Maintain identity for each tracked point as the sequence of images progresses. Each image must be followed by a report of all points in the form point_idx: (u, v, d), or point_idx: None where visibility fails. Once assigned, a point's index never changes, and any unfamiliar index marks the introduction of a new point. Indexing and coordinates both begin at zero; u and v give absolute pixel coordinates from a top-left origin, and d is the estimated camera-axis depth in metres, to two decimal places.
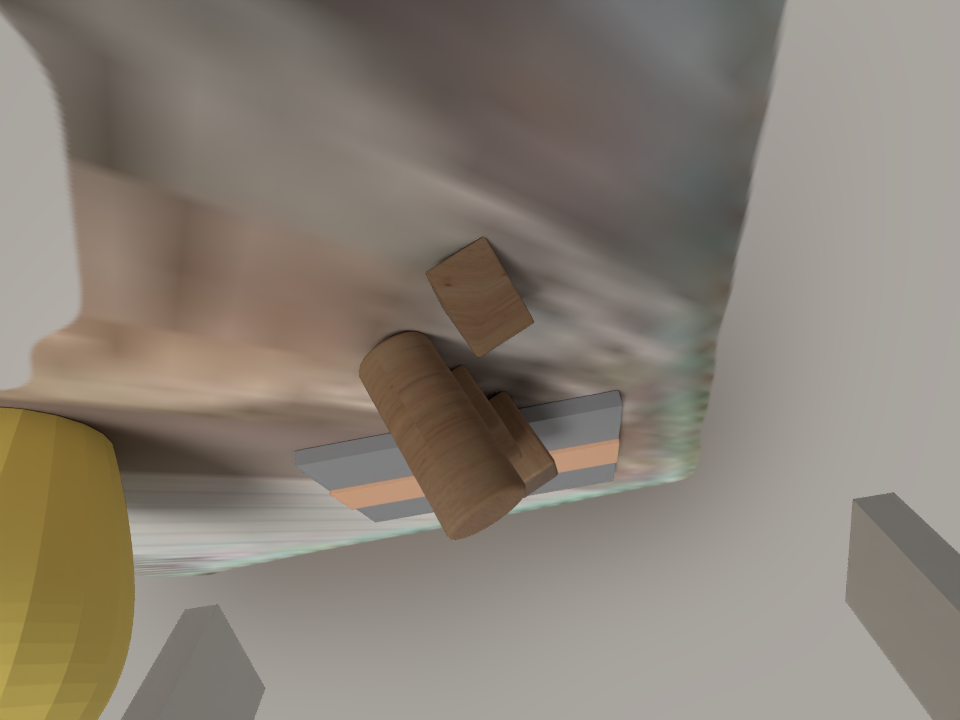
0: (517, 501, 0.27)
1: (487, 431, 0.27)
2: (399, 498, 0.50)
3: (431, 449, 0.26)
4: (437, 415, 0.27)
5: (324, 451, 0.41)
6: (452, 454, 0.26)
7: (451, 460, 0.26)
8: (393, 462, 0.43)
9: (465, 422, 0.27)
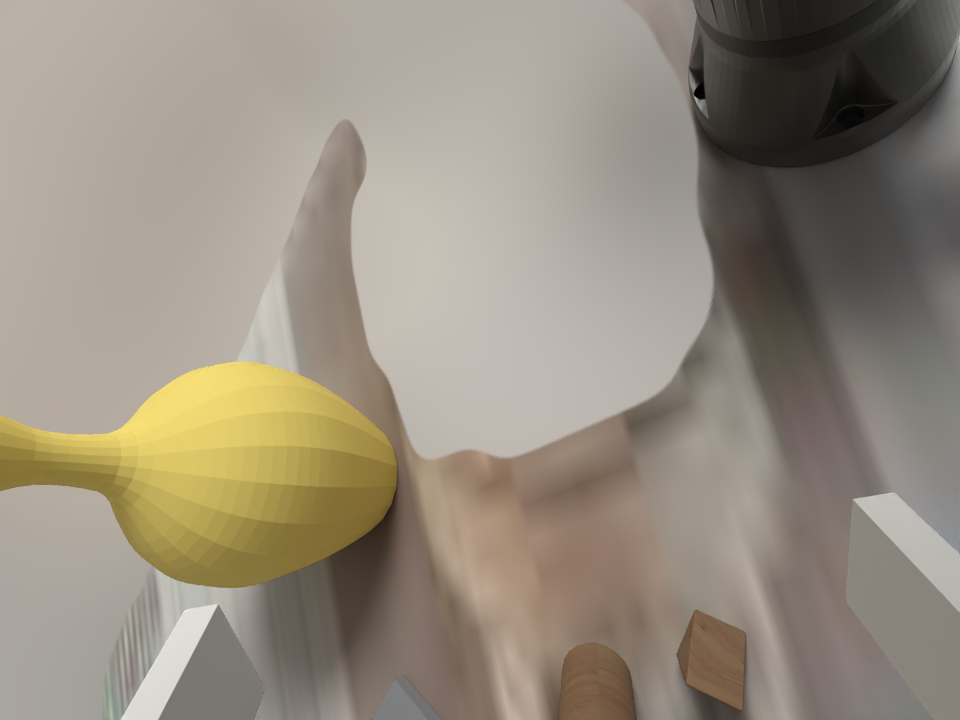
0: None
1: None
2: None
3: (600, 699, 0.30)
4: (618, 695, 0.31)
5: (419, 699, 0.42)
6: (615, 714, 0.29)
7: (611, 715, 0.28)
8: None
9: None
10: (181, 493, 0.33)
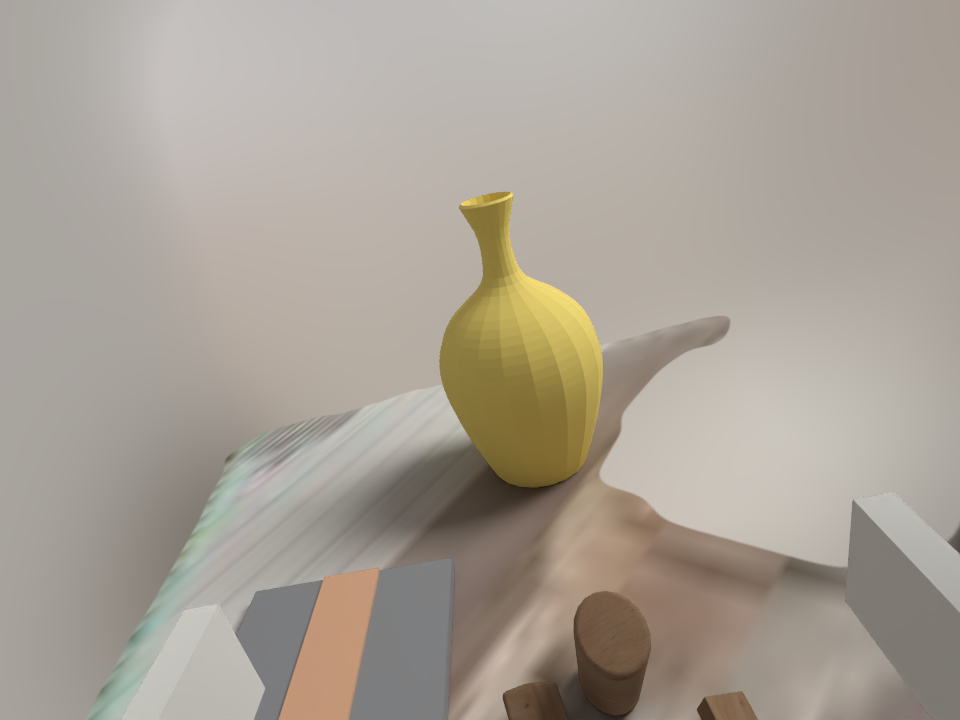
0: (611, 664, 0.28)
1: (638, 683, 0.30)
2: (319, 619, 0.45)
3: None
4: None
5: (452, 584, 0.47)
6: None
7: None
8: (413, 627, 0.43)
9: None
10: (516, 312, 0.50)
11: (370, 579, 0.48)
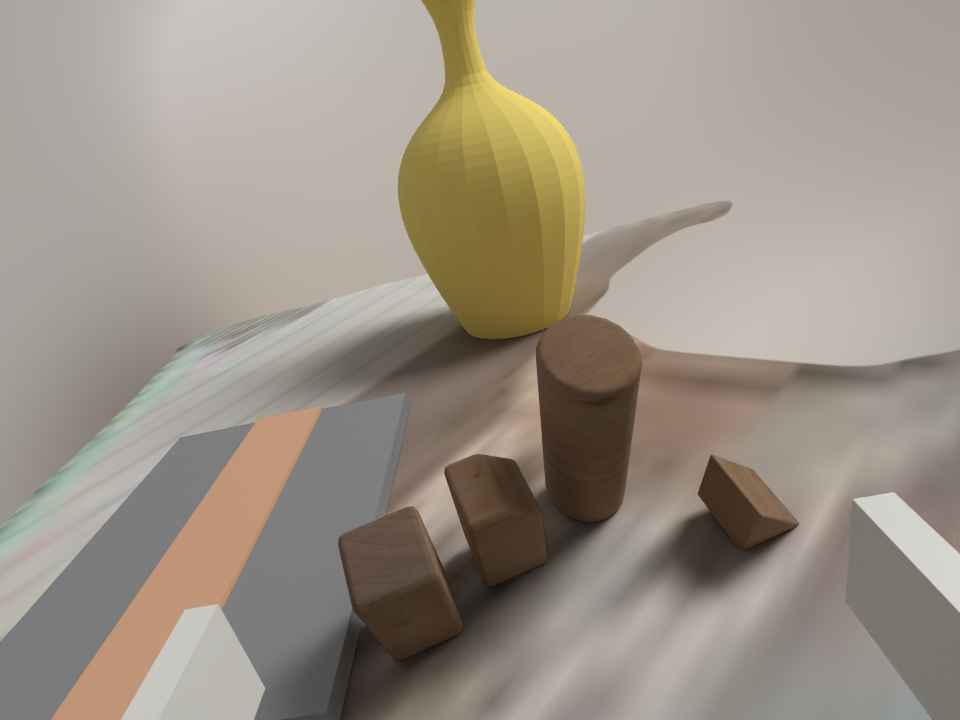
0: (589, 382, 0.20)
1: (625, 433, 0.22)
2: (245, 451, 0.38)
3: None
4: None
5: (404, 416, 0.40)
6: None
7: None
8: (352, 449, 0.36)
9: (633, 423, 0.24)
10: (482, 108, 0.43)
11: (310, 415, 0.41)
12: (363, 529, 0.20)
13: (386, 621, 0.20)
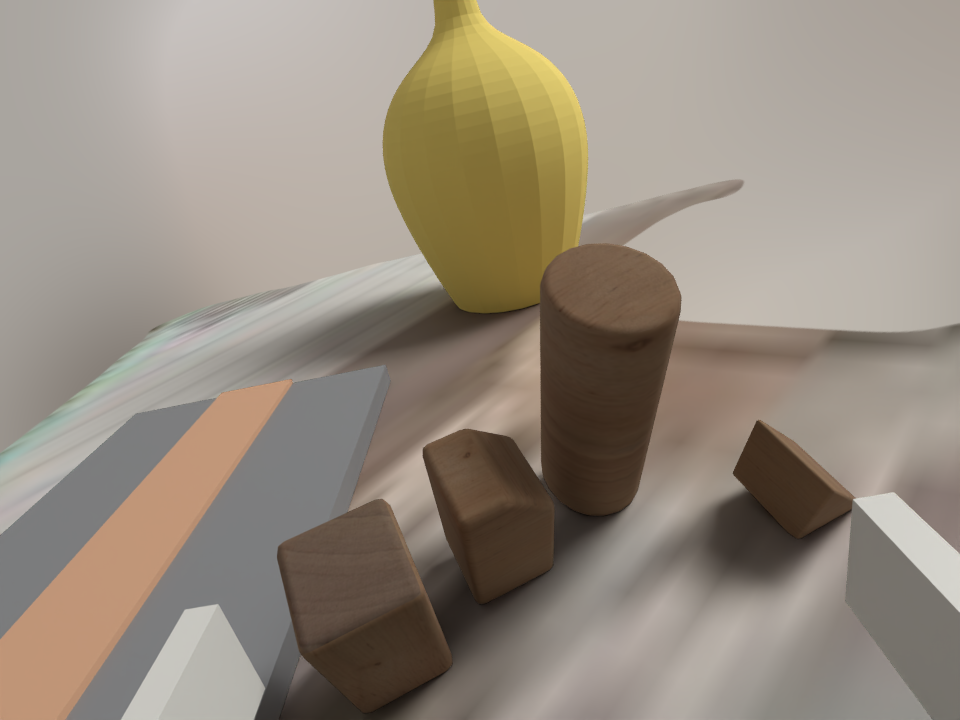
0: (618, 320, 0.15)
1: (656, 394, 0.17)
2: (201, 426, 0.34)
3: None
4: None
5: (383, 390, 0.36)
6: None
7: None
8: (320, 423, 0.32)
9: None
10: (474, 51, 0.38)
11: (278, 388, 0.37)
12: (313, 533, 0.14)
13: (349, 663, 0.14)
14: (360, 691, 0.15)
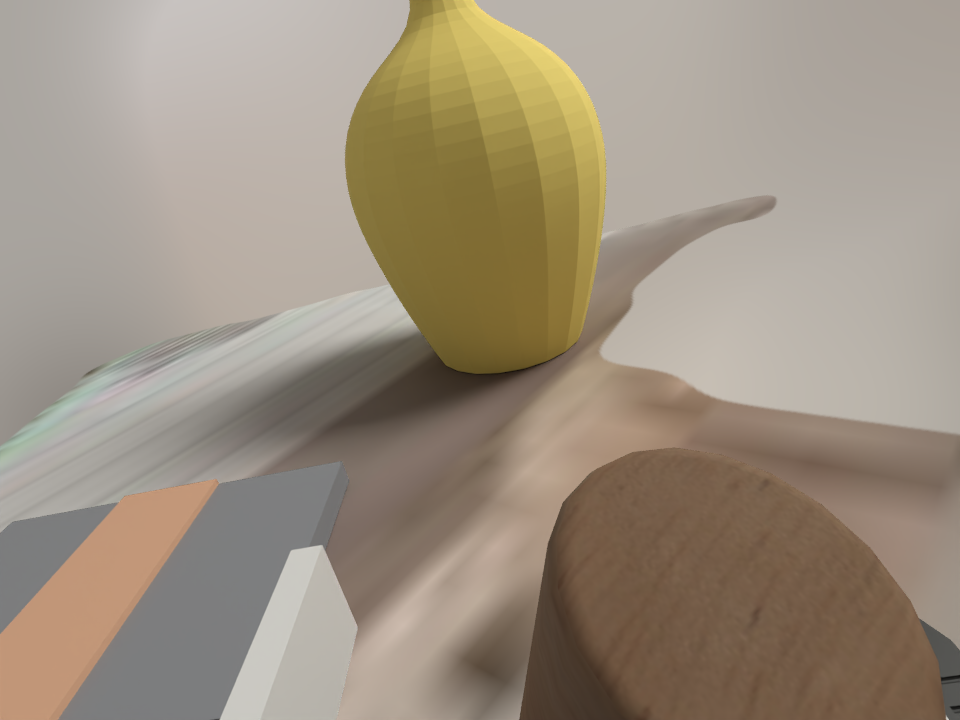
0: None
1: None
2: (80, 560, 0.24)
3: None
4: None
5: (335, 502, 0.26)
6: None
7: None
8: (237, 570, 0.22)
9: None
10: (460, 42, 0.29)
11: (195, 496, 0.27)
12: None
13: None
14: None
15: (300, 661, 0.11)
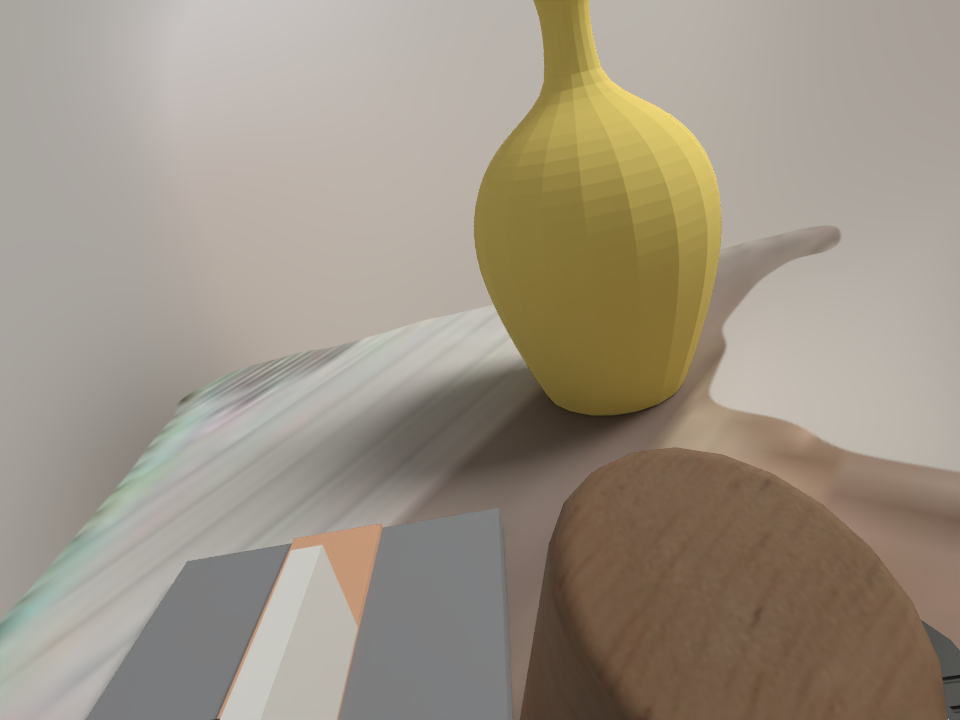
0: None
1: None
2: None
3: None
4: None
5: (502, 548, 0.28)
6: None
7: None
8: (440, 618, 0.25)
9: None
10: (603, 118, 0.31)
11: (367, 541, 0.30)
12: None
13: None
14: None
15: (300, 661, 0.11)
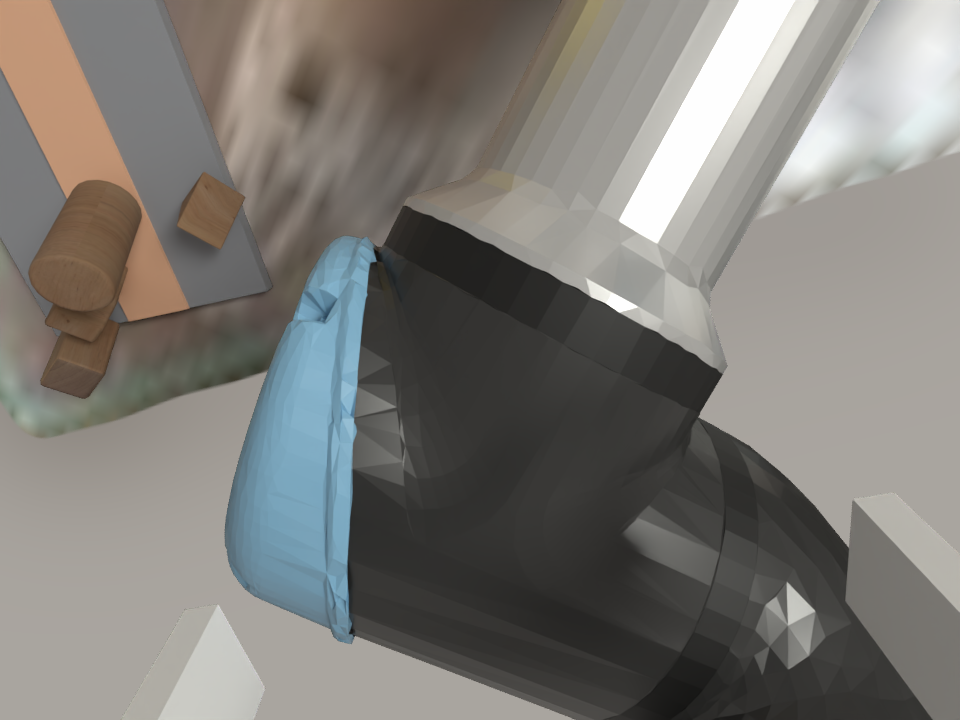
0: (93, 305, 0.34)
1: (124, 265, 0.36)
2: (2, 46, 0.37)
3: (88, 227, 0.34)
4: (112, 226, 0.36)
5: None
6: (99, 239, 0.34)
7: (95, 239, 0.34)
8: (131, 51, 0.37)
9: (122, 245, 0.36)
10: None
11: None
12: (48, 378, 0.39)
13: None
14: None
15: None
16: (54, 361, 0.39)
